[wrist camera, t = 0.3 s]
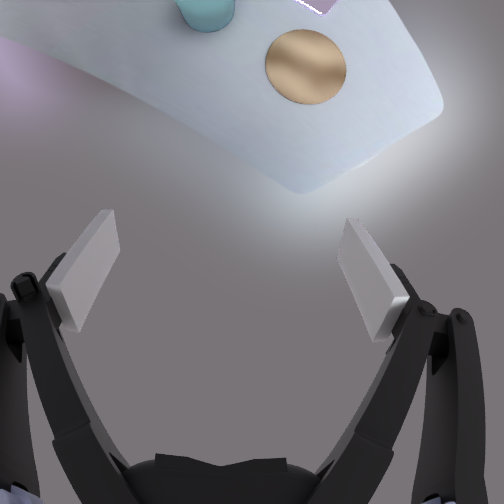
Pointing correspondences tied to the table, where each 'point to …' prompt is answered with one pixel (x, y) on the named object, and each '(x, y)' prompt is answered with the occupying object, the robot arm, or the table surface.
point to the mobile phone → (318, 6)
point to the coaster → (305, 66)
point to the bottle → (207, 13)
